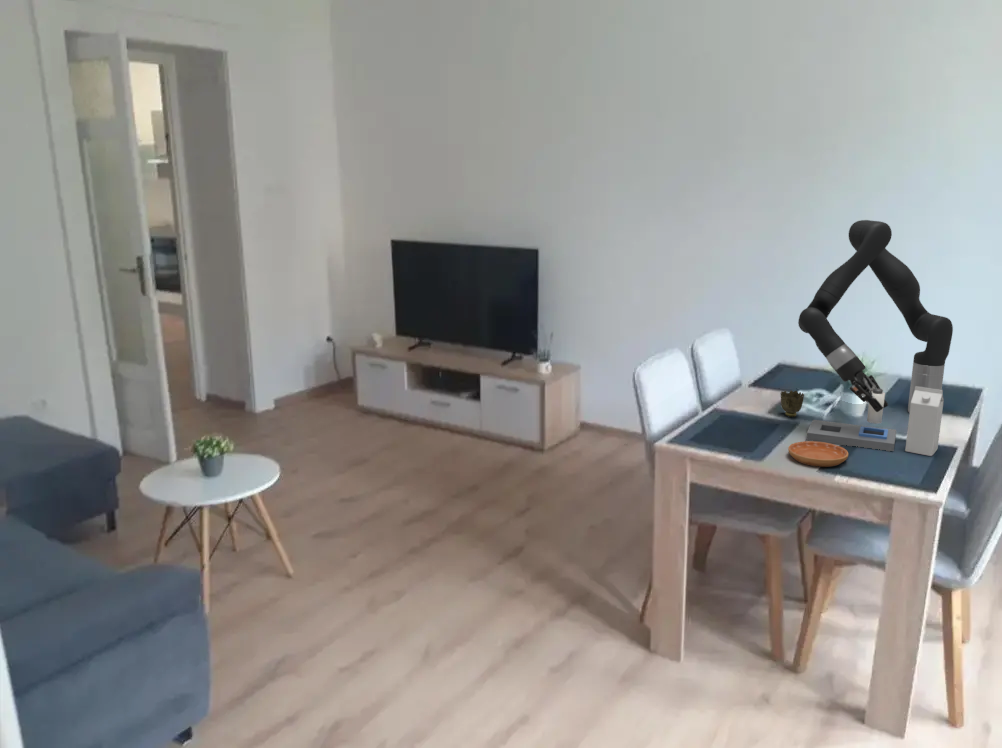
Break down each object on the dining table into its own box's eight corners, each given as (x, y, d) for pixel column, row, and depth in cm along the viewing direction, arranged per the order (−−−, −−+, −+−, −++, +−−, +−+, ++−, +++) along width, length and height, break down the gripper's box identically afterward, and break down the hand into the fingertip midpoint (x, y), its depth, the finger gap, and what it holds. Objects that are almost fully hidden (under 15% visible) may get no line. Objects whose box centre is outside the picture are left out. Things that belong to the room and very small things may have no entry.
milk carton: (910, 445, 236) (918, 383, 231) (937, 449, 231) (945, 387, 227) (904, 451, 231) (912, 389, 226) (931, 456, 226) (940, 393, 221)
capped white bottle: (867, 418, 240) (871, 387, 238) (881, 420, 238) (885, 388, 236) (866, 422, 237) (870, 390, 234) (881, 424, 235) (885, 392, 232)
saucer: (781, 449, 235) (782, 440, 234) (837, 450, 233) (838, 440, 233) (795, 469, 220) (796, 459, 219) (855, 470, 218) (856, 460, 217)
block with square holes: (812, 427, 253) (813, 417, 253) (895, 437, 242) (896, 427, 242) (806, 440, 241) (807, 430, 241) (893, 451, 230) (894, 441, 230)
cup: (783, 419, 261) (785, 396, 259) (775, 413, 268) (777, 390, 266) (806, 419, 261) (808, 396, 259) (797, 412, 268) (799, 389, 266)
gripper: (846, 359, 233) (885, 407, 228) (863, 351, 243) (901, 396, 238) (826, 374, 237) (864, 420, 232) (844, 365, 247) (880, 410, 243)
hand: (882, 408), depth 235 cm, fingers closed on capped white bottle, 4 cm apart
